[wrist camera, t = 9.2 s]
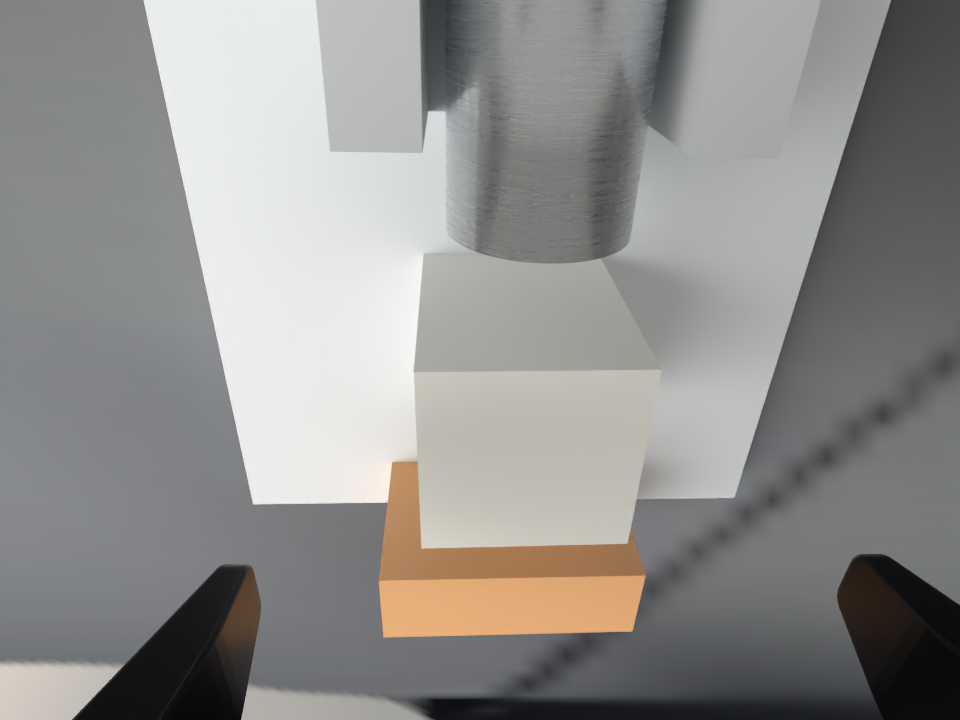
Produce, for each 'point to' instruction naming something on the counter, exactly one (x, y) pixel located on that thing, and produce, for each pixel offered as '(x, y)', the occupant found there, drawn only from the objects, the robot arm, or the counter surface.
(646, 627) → the counter surface
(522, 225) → the shaft
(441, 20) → the bearing rail
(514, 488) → the block
